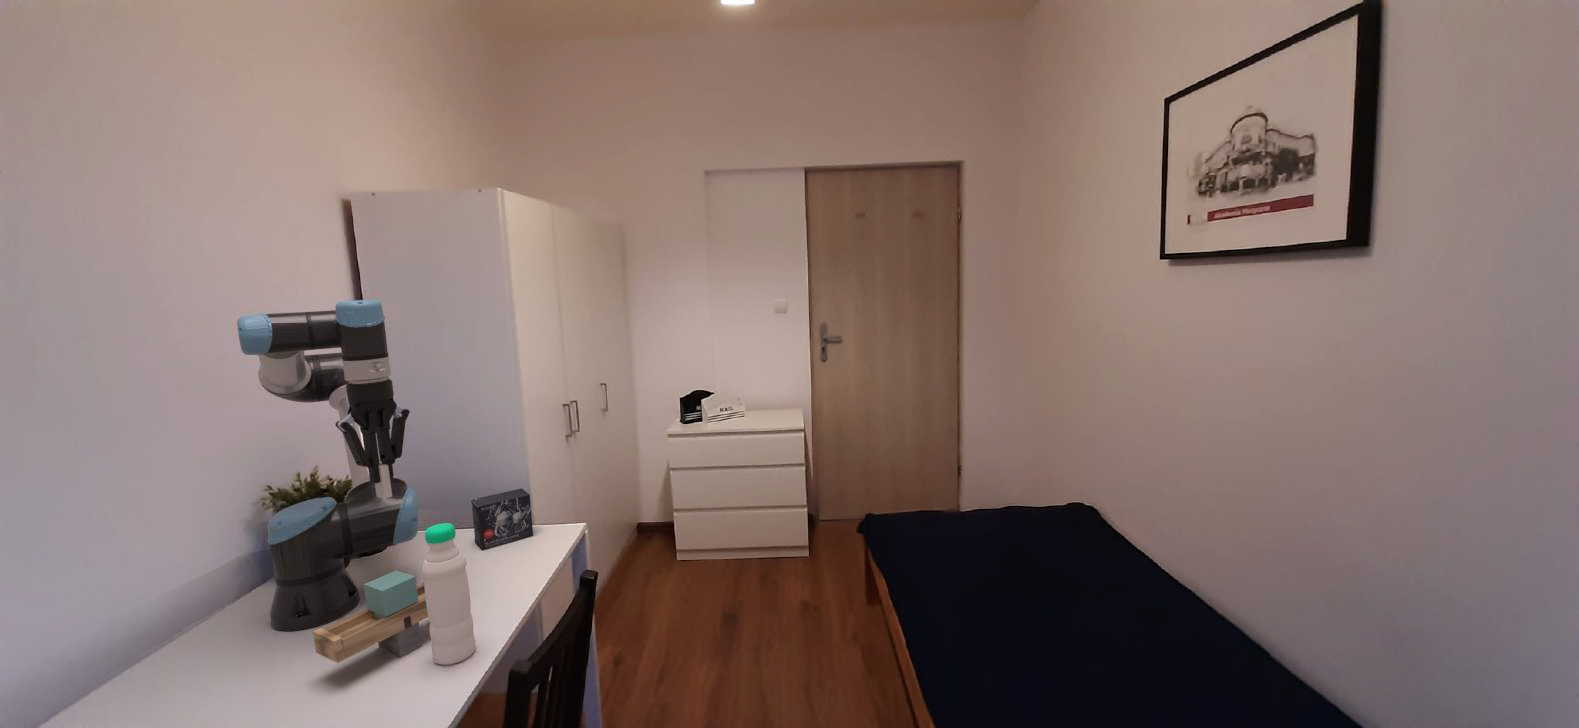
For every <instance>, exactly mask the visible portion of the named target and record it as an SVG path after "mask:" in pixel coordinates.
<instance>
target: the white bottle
mask: <svg viewBox="0 0 1579 728" xmlns="http://www.w3.org/2000/svg"><path fill="white" fill-rule="evenodd" d="M456 535H457V534H456V528H455V526H454V524H452V523H450V522H449V523H448V522H446V523H445V522H444V523H438V524H434V525H432V526H430V527H428V528H426V530H425V532H424V536H425V538H424V539H425V541H426V544H427V545H428V547H429V549H428V551H427V553H426V555H425V559H424V561H423V564H422V567H421V573H422V576H423V579H424V581H423V583H424V588H425V598H426V606H427V612H428V617H427V618H428V620H429V636H430V640H431V644H432V645H431V652H432V653H431V654H432V660H433V661H434V662H435V663H436V664H438V665H442V666H449V665H455V664H459V663H461V662H463V661H464V660H467V659H468V658H469V657H470V656H472V654H473V653H474V652H475V650H476V637H475V633H474V620H473V619H474V618H473V616H472V613H471V594H470V585H469V578H468V572H467V569H466V567H467V560H466V557H465V555H464V554H463V553H462V551H461V550H460V548H459V547H458V546H457V544H455V543H454V540H456Z"/></svg>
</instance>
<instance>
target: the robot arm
mask: <svg viewBox="0 0 1579 728" xmlns="http://www.w3.org/2000/svg"><path fill="white" fill-rule="evenodd" d="M334 307H335V309H334V310H331V309H330V310H319V311H318V310H317V311H299V312H281V313H280V312H279V313H278V312H277V313H276V312H275V313H261V312H260V313H257V314H250V315H249V314H248V315H241V316H240V317H239V318H238V319H237V321H236V325H237V333H238V339H239V346H240V349H241V352H242V353H243V354H244V355H246V356H258V360H259V362H260V365H259V368H258V372H257V376H258V380H259V383H260V385H261V386H262V387H263V388H264V389H265V391H266V392H267V393H269V394H271V395H273V396H276V397H278V398H281V399H283V400H286V401H290V402H295V403H309V404H310V403H317V402H318V403H321V402H327V401H328V404H329V406H330V407H331V408H333V409H334V410H336V411H338V415H339V420H337V421H336V422H335V427H336V428H337V429H338V430H339V431H340V432H341V433H342V436H343V442H344V447H345V451H346V452H345V453H346V457H347V463H348V469H349V473H350V479H351V485H352V488H351V489H349V491H348V492H347V494H346V501H345V500H344V501H343V502H337V500H335V498H333V497H331V496H325V497H316V498H312V499H311V498H310V499H307V500H305V501H300V502H298V503H296V504H293V505H290V506H288V507H286V508H284V509H282V510H280V511H278V512H276V513H275V514H274V515H273V516H272V517H270V519H269V520H268V522H267V536H268V537H267V544H268V545H269V547H270V552H271V553H270V554H271V560H272V566H273V573H274V574H273V575H274V579H275V580H274V581H275V591H274V595H273V598H272V603H271V608H270V612H269V618H270V619H269V620H270V625H271V627H272V628H273V629H274V630H278V631H282V632H284V631H285V632H287V631H290V632H291V631H298V630H299V631H300V630H305V629H310V628H314V627H318V626H321V625H323V624H327V623H329V622H332V621H334V620H337V619H339V618H341V617H343V616H344V615H346V614H348V613H349V612H351V611H353V609H355V608H357V605H358V604H359V603H360V593H359V589H358V587H357V585H356V583H355V582H354V580H353V579H352V577H351V576H350V574H349V572H348V571H347V569H346V566H345V561H344V558H347V557H351V556H356V555H358V554H364V553H367V552H370V551H371V552H372V551H375V550H380V549H384V548H388V547H392V546H393V547H395V546H397V545H398V544H403V543H406V542H409V541H411V540H414V538H415V537H416V536H417V534H418V529H419V514H418V513H419V512H418V509H419V508H418V493H417V488H415V487H410V486H409V487H408V485H407V483H406V481H405V480H404V479H403V478H400V477H398V476H397V473H396V468H395V463H396V460H397V459H400V458H402V455H403V446H404V439H405V432H406V431H405V428H406V421H407V420H408V417H409V415H410V412H411V411H410V410H409V409H407V408H402V407H399V406H398V405H397V403H396V401H395V399H394V395H395V394H394V392H395V391H394V386H393V380H392V379H391V378H390V376H392V373H391V371H392V370H391V364H390V356H389V352H388V343H387V334H386V332H387V331H386V324H385V320H386V316H385V314H384V311H383V304H382V302H381V301H379V300H378V299H359V300H358V299H357V300H345V301H343V300H342V301H338V302H336V304H335V306H334ZM327 349H328V350H329V349H340V350H341V352H331V353H317V354H306V355H305V352H306V351H313V350H327ZM390 420H392V422H391V423H390ZM390 430H391V431H390Z"/></svg>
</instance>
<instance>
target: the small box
mask: <svg viewBox="0 0 1579 728" xmlns="http://www.w3.org/2000/svg"><path fill="white" fill-rule="evenodd" d="M531 505H532V504H531V496H530V493H528V492H527V491H526V490H525V489H524V488H516V489H512V490H508V491H504V492H499V493H495V494H491V495H486V496H482V497H477V498H472V499H471V508H472V509H471V510H472V520H473V531H474V532H473V533H474V534H473V535H474V543H475V544H476V545H477V546H478V547H479V549H480V550H481V551H485V550H490V549H491V548H495V547H499V546H502V545H506V544H510V543H513V542H517V541H520V540H523V539H528V538H532V537H534V531H533V521H532V520H533V518H532V507H531Z"/></svg>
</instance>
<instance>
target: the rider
mask: <svg viewBox="0 0 1579 728" xmlns="http://www.w3.org/2000/svg"><path fill="white" fill-rule="evenodd" d="M416 578H417V577H416V576H415V575H412V574H409V573H406V572H404V571H399V570H396V569H395V570H394V571H392V572H389V573H387V574H384V575H382V576H379V577H377V578H376V579H372V580H370V581H367V582H366V583H364V584H363V588H364V589H363V590H364V595H365V603H366V610H370V611H372V612H374V617H376V618H378V619H381V618H383V617H387V616H389V615H391V614H393V613H395V612H397V611H399V610H401V609H403V608H406V607H408V606H410V605H412V604H414V603H416V602H418V594H417V586H418V585H417V580H416Z"/></svg>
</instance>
